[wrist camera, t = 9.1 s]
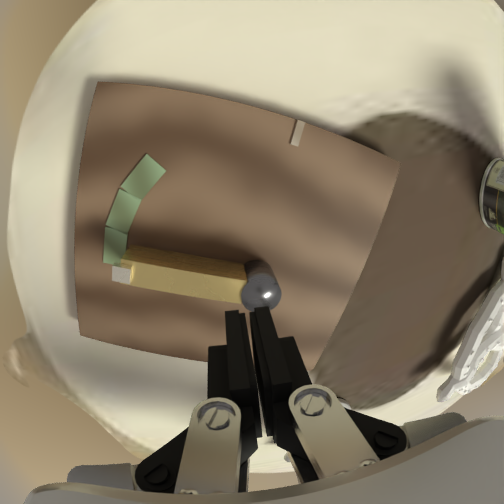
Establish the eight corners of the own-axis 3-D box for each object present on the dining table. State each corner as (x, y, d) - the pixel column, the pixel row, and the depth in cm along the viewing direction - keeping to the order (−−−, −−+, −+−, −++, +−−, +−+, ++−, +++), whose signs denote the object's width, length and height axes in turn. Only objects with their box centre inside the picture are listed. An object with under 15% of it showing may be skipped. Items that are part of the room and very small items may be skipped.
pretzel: (492, 239, 31) (522, 251, 25) (521, 274, 38) (541, 284, 32) (415, 390, 37) (436, 412, 31) (465, 383, 44) (481, 398, 38)
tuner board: (307, 358, 32) (312, 371, 30) (86, 324, 26) (79, 336, 24) (389, 160, 23) (402, 163, 21) (106, 85, 17) (96, 81, 15)
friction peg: (277, 263, 23) (287, 283, 20) (267, 293, 24) (275, 317, 21) (126, 236, 21) (112, 254, 17) (124, 269, 22) (112, 291, 18)
